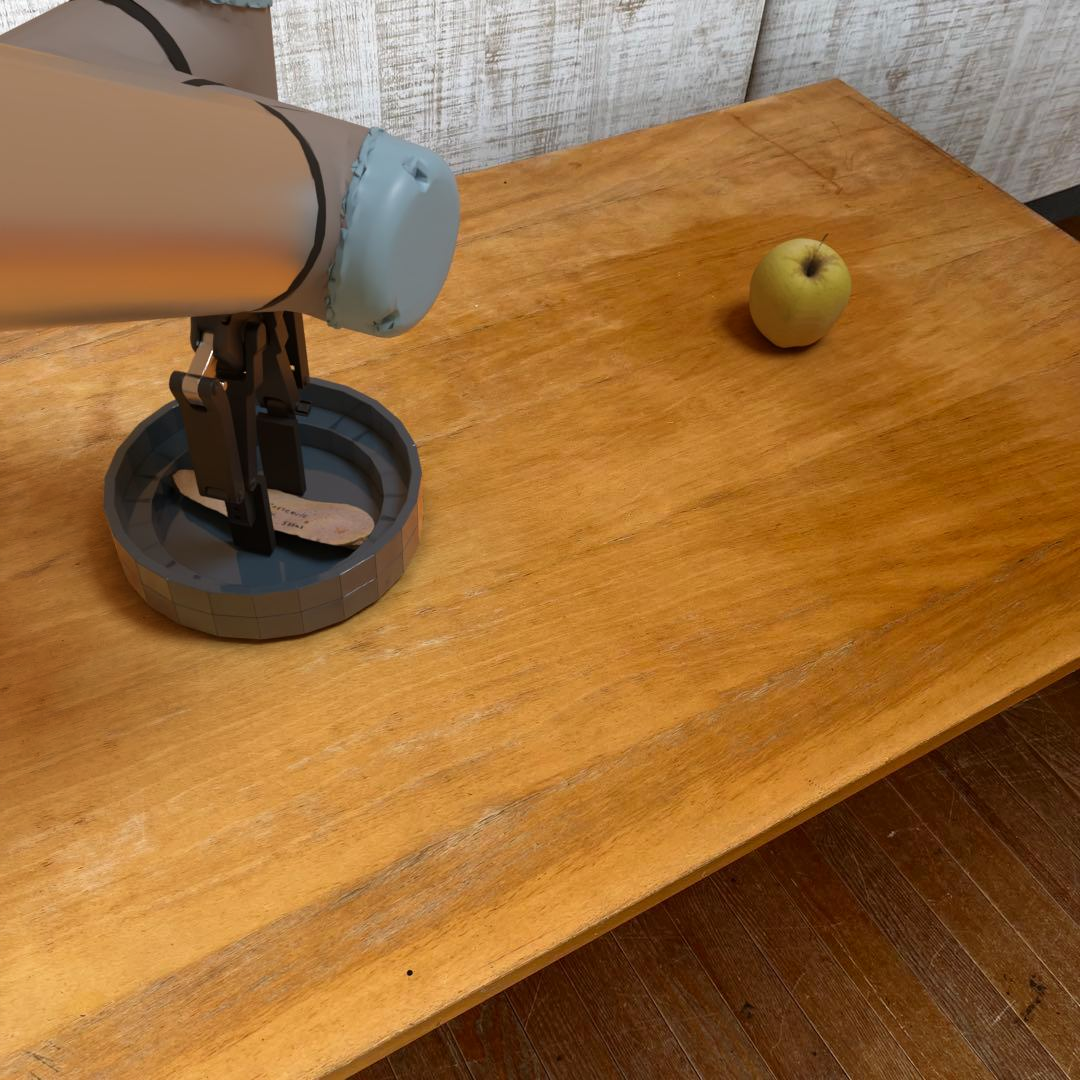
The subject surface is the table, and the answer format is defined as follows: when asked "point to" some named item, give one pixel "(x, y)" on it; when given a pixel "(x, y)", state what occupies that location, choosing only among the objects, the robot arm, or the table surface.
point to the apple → (798, 292)
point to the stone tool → (298, 515)
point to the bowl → (296, 563)
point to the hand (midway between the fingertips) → (271, 515)
